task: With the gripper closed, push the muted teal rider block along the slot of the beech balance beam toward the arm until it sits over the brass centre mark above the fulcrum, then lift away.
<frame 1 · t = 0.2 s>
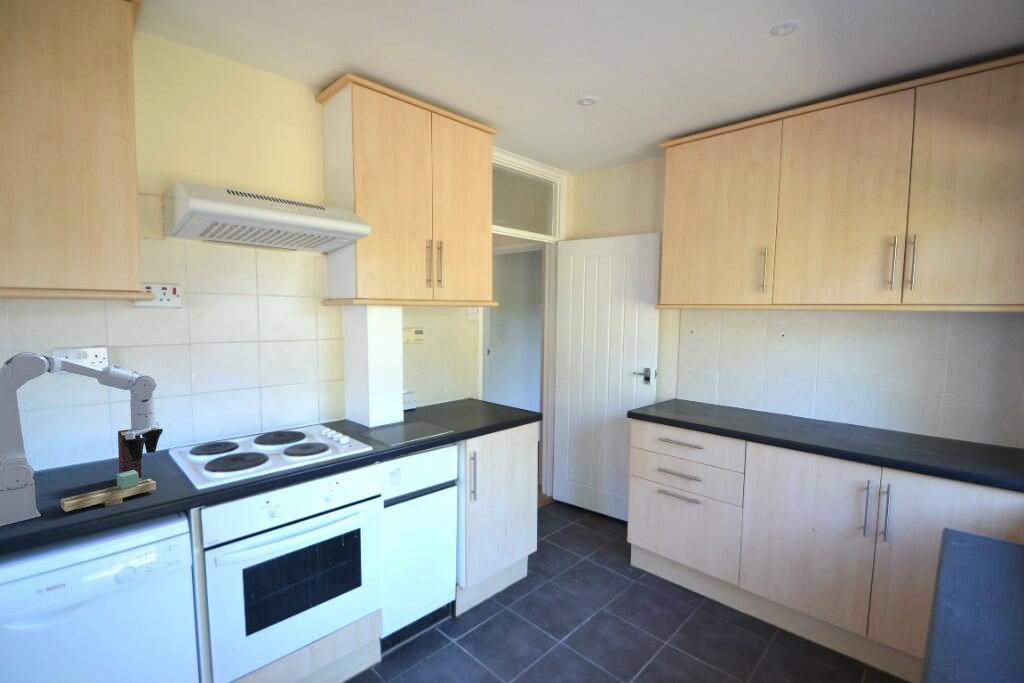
hand: (144, 456, 143), 10 cm above the counter, tool pointing down, fingers open, 7 cm apart
supplement box: (130, 479, 150), on the counter
beam: (111, 501, 132), on the counter
rider: (128, 481, 135), point 5 cm above the counter, slide at 4.0 cm
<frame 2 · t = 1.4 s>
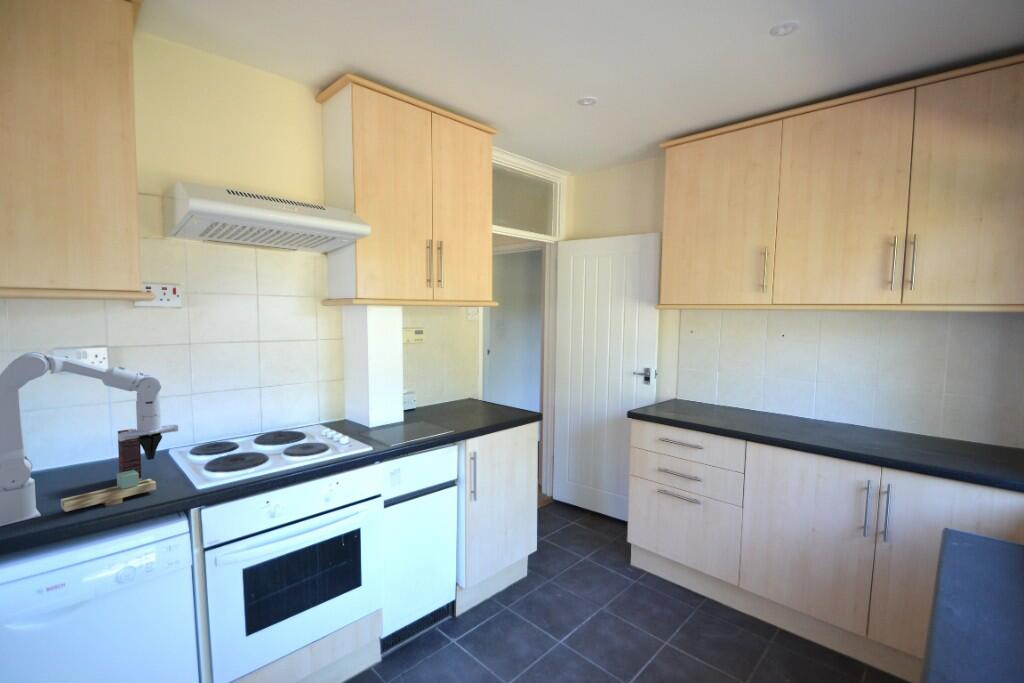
hand: (150, 458, 140), 10 cm above the counter, tool pointing down, fingers closed
nothing on the counter moved.
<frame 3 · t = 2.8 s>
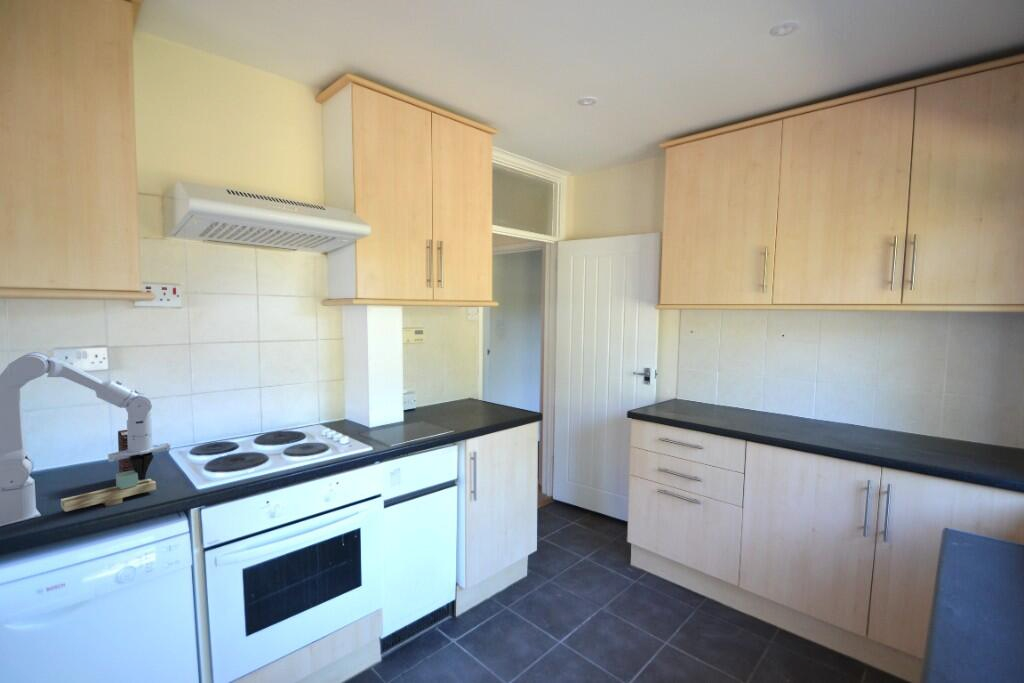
hand: (141, 479, 138), 5 cm above the counter, tool pointing down, fingers closed
rider: (127, 481, 135), point 5 cm above the counter, slide at 3.8 cm, touching gripper
everything else where it was.
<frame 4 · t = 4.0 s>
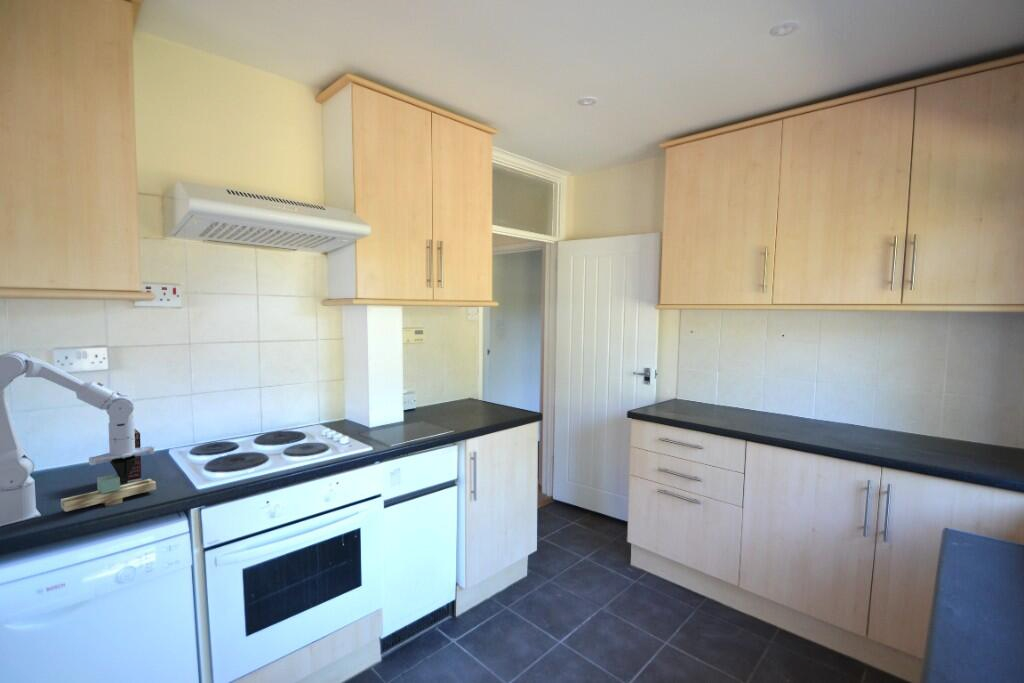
hand: (123, 482, 134), 5 cm above the counter, tool pointing down, fingers closed
rider: (108, 485, 132), point 5 cm above the counter, slide at -0.4 cm, touching gripper
everything else where it was.
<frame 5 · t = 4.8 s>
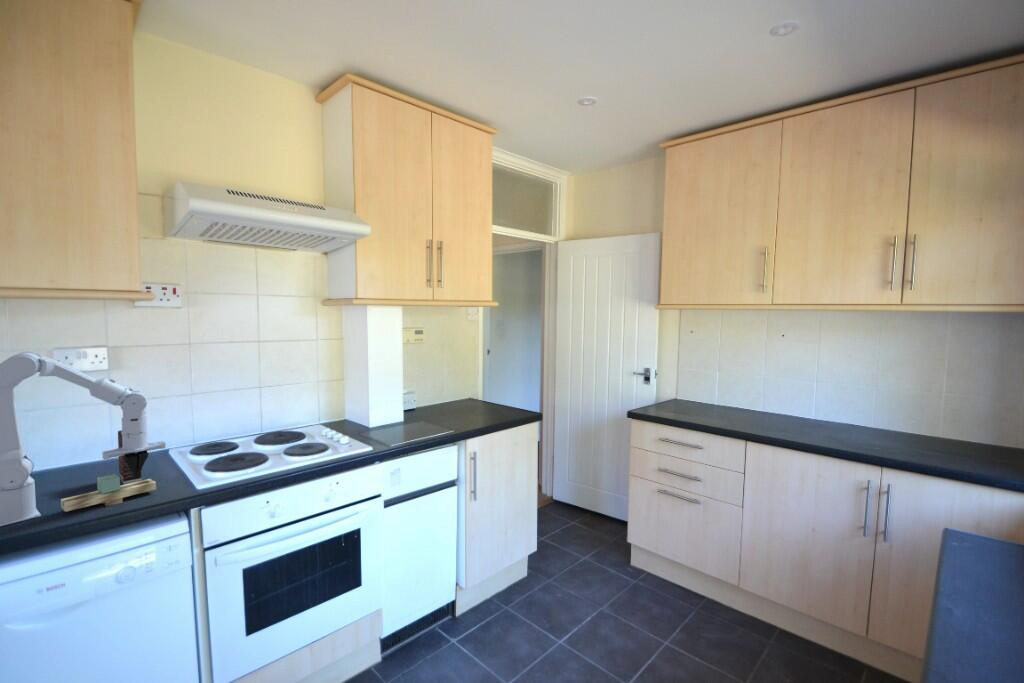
hand: (136, 477, 137), 6 cm above the counter, tool pointing down, fingers closed
rider: (108, 485, 132), point 5 cm above the counter, slide at -0.4 cm
everything else where it was.
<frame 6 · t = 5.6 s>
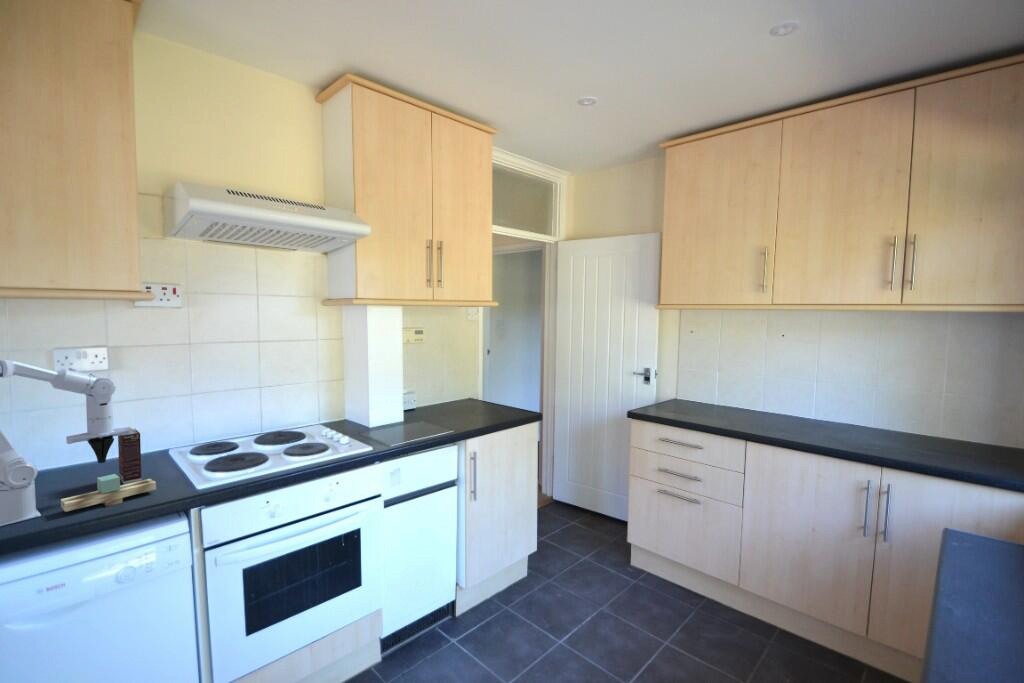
hand: (101, 462, 137), 10 cm above the counter, tool pointing down, fingers closed
nothing on the counter moved.
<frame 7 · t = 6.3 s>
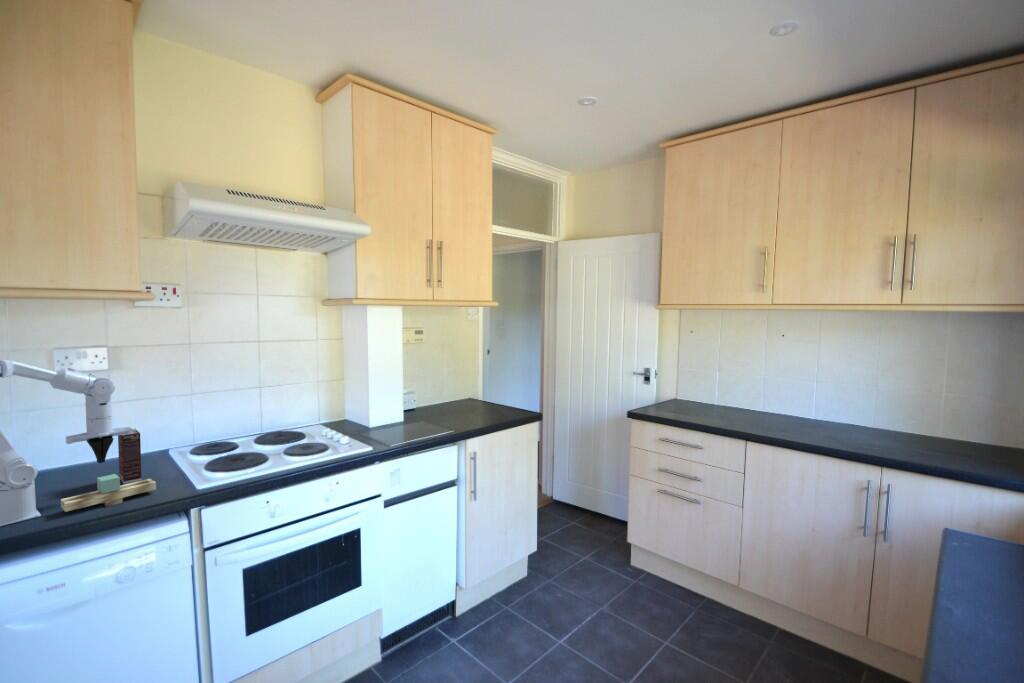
hand: (101, 462, 137), 10 cm above the counter, tool pointing down, fingers closed
nothing on the counter moved.
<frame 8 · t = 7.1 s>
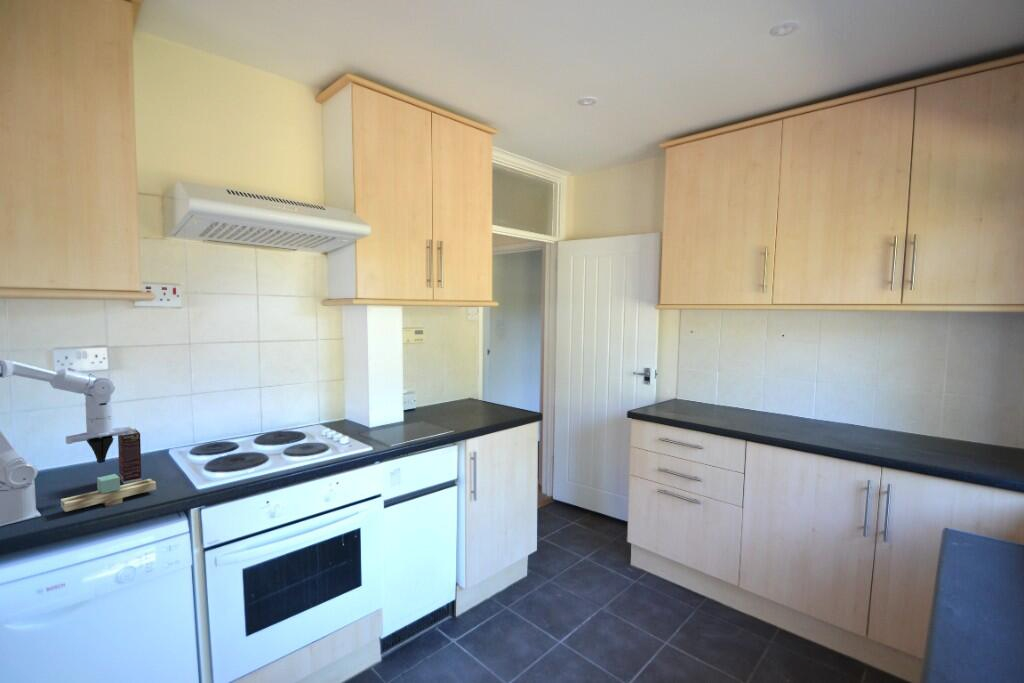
hand: (101, 462, 137), 10 cm above the counter, tool pointing down, fingers closed
nothing on the counter moved.
at the end: rider slide at -0.4 cm; the gripper is holding nothing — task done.
